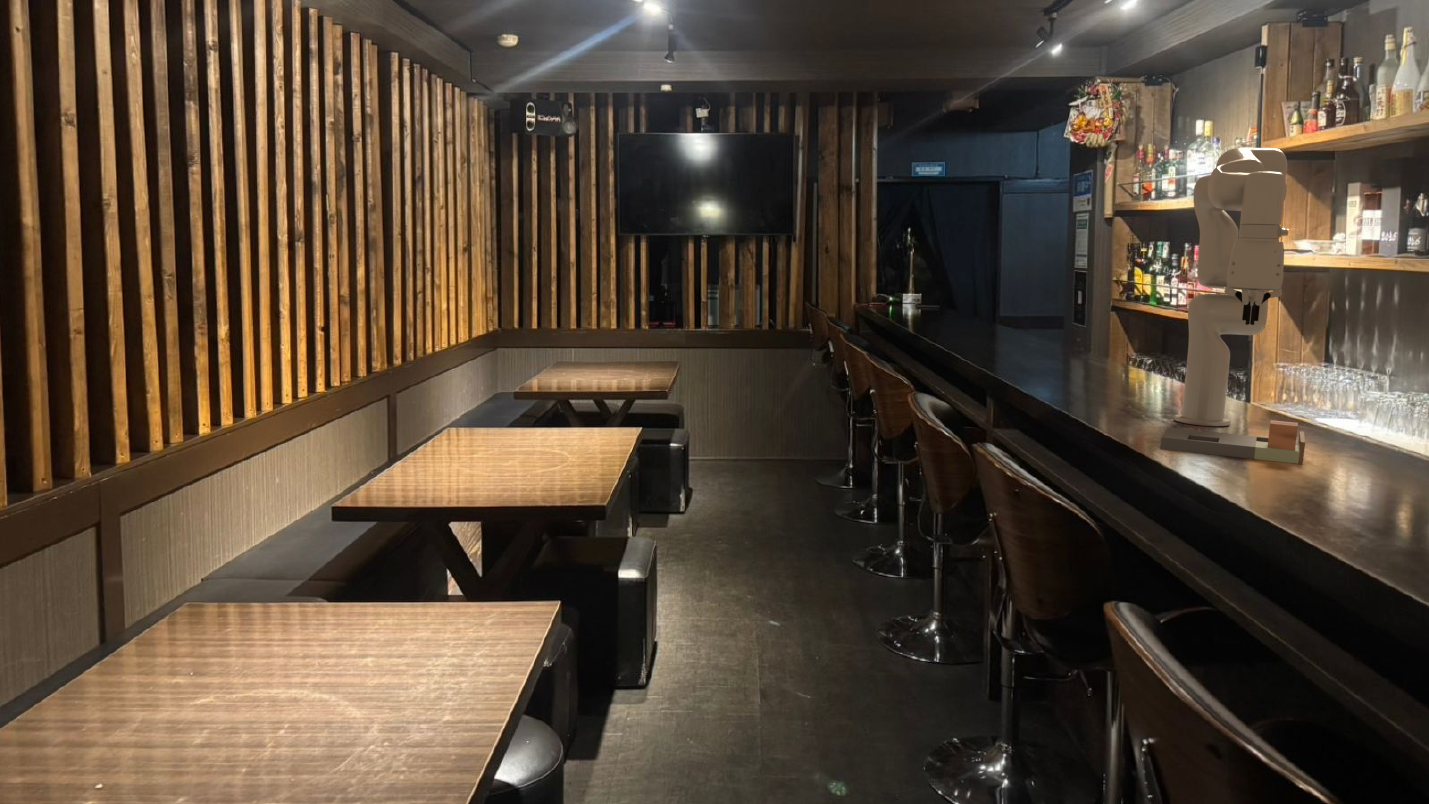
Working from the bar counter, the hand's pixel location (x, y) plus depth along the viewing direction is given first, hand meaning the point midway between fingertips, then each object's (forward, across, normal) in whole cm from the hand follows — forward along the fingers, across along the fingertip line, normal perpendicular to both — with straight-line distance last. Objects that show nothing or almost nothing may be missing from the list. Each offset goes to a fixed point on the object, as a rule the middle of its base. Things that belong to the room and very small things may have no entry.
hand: (1249, 324), depth 228 cm
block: (+25, -8, +1) cm, 26 cm away
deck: (+27, +2, -4) cm, 27 cm away
